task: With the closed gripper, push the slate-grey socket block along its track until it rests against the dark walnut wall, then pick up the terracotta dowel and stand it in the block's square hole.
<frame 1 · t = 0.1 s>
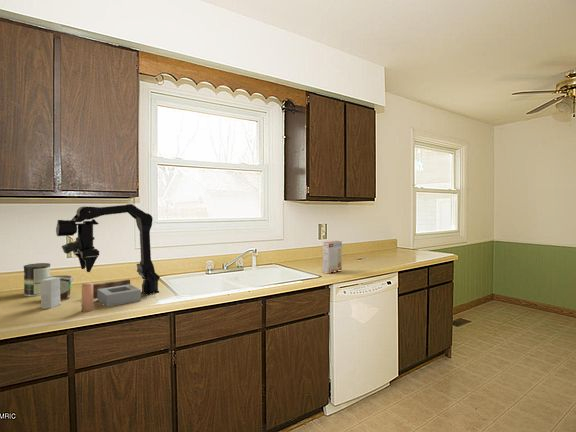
hand: (85, 270, 141), 15 cm above the worktop, tool pointing down, fingers open, 9 cm apart
coffee can: (37, 294, 157), on the worktop
food container: (61, 298, 150), on the worktop
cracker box: (332, 272, 219), on the worktop
walnut wall: (110, 294, 156), on the worktop
socket block: (119, 294, 147), point 3 cm above the worktop, slide at 0.0 cm
dowel: (87, 310, 133), on the worktop
skincare box: (50, 307, 137), on the worktop
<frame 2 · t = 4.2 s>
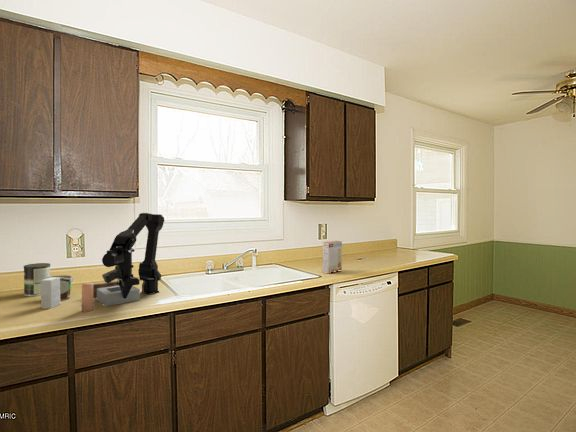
hand: (124, 298, 142), 2 cm above the worktop, tool pointing down, fingers closed
socket block: (118, 294, 148), point 3 cm above the worktop, slide at 1.4 cm, touching gripper
everything else where it was.
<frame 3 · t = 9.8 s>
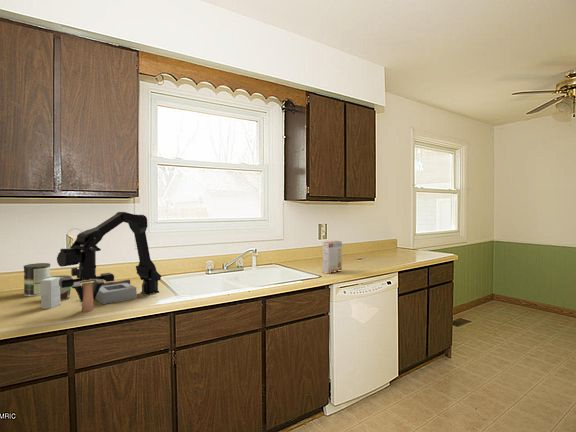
hand: (87, 300, 132), 4 cm above the worktop, tool pointing down, fingers closed on dowel, 4 cm apart
socket block: (115, 292, 151), point 3 cm above the worktop, slide at 5.3 cm
dowel: (87, 310, 133), on the worktop, touching gripper
everything else where it was.
when the fingers open (6 cm above the worktop, at t = 15.9 s): dowel drops 2 cm, resting in socket block.
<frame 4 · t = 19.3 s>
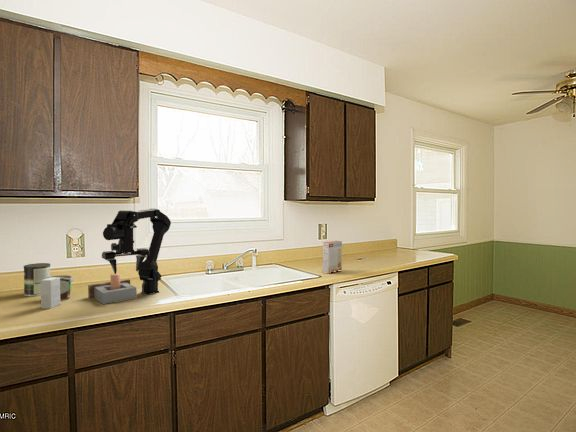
hand: (126, 272, 146), 13 cm above the worktop, tool pointing down, fingers open, 9 cm apart
dowel: (115, 297, 151), resting in socket block
everything else where it was.
at the end: socket block slide at 5.3 cm; dowel 0.1 cm from the target spot, resting in socket block; dowel tilted 0° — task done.
